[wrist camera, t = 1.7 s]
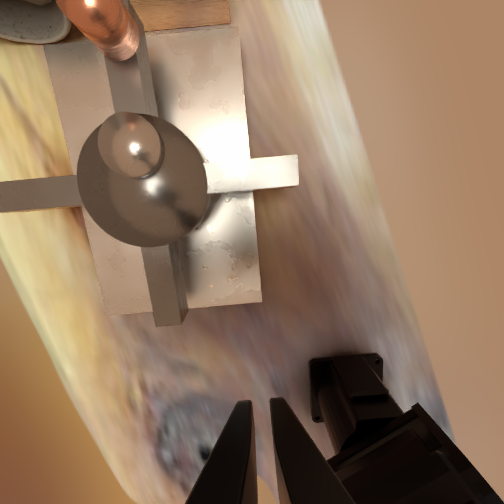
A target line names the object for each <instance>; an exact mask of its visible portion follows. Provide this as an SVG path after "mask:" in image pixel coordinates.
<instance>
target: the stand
mask: <svg viewBox="0 0 504 504" xmlns="http://www.w3.org/2000/svg"><path fill="white" fill-rule="evenodd" d="M129 1H130V3H131V4H132V6H133V8H134V9H135V11H136V13H137V14H138V16H139V18H140V20H141V21H142V23H143V25H144V30H145V31H154V30H165V29H175V28H185V27H196V26H206V25H217V24H227V23H230V14H229V4H228V0H129ZM145 37H146V43H147V49H148V56H149V62H150V69H151V75H152V81H153V88H154V94H155V100H156V107H157V113H158V117H159V118H161V119H164V120H166V121H168V122H169V123H171V124H173V125H174V126H176V127H177V128H178V129H179V130H181V131H182V132H183V133H184V134H185V135H186V136H187V137H188V138H189V139H190V140H191V141H192V142H193V143H194V145H195V146H196V147H197V148H198V149H199V151H200V152H201V153H202V155H203V156H204V158H205V160H206V162H207V163H210V162H221V161H232V160H242V159H250V153H249V142H248V130H247V119H246V107H245V95H244V84H243V72H242V61H241V49H240V37H239V27H230V28H219V29H209V30H198V31H188V32H177V33H167V34H157V35H146V36H145ZM43 47H44V51H45V55H46V59H47V64H48V68H49V72H50V76H51V81H52V85H53V89H54V93H55V97H56V102H57V106H58V110H59V114H60V119H61V123H62V127H63V131H64V136H65V140H66V144H67V148H68V153H69V157H70V161H71V165H72V169H73V174H74V175H77V163H78V159H79V155H80V152H81V149H82V147H83V145H84V143H85V141H86V139H87V138H88V137H89V135H90V134H91V133H92V132H93V131H94V130H95V129H96V128H97V127H98V126H99V125H101V124H102V123H103V122H104V121H105V120H106V119H107V118H108V117H109V116H111V115H113V114H115V111H114V106H113V101H112V95H111V90H110V85H109V80H108V75H107V69H106V64H105V59H104V54H103V53H102V52H101V51H100V50H99V49H98V48H97V47H96V46H95V45H94V44H93V43H92V42H91V41H84V42H73V43H63V44H52V45H43ZM81 208H82V212H83V216H84V220H85V224H86V229H87V233H88V237H89V241H90V246H91V250H92V254H93V258H94V263H95V267H96V271H97V275H98V280H99V284H100V288H101V292H102V296H103V301H104V305H105V309H106V313H107V316H109V315H121V314H132V313H143V312H153V310H152V304H151V299H150V294H149V289H148V284H147V278H146V273H145V268H144V263H143V257H142V252H141V247H137V246H133V245H129V244H126V243H123V242H121V241H119V240H117V239H115V238H113V237H112V236H110V235H109V234H107V233H106V232H105V231H104V230H102V229H101V228H100V227H99V226H98V225H97V224H96V223H95V222H94V220H93V219H92V218H91V216H90V215H89V213H88V212H87V210H86V208H85V206H84V207H81ZM178 247H179V253H180V259H181V266H182V272H183V279H184V285H185V291H186V298H187V304H188V308H199V307H211V306H222V305H233V304H244V303H255V302H262V293H261V281H260V270H259V258H258V246H257V235H256V223H255V212H254V200H253V191H247V192H236V193H225V194H214V195H212V200H211V204H210V207H209V210H208V212H207V214H206V216H205V218H204V219H203V221H202V222H201V223H200V225H199V226H198V227H197V228H196V229H194V230H193V231H192V232H191V233H189V234H188V235H186V236H184V237H182V238H180V239H178Z"/></svg>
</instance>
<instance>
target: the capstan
mask: <svg viewBox="0 0 504 504" xmlns="http://www.w3.org/2000/svg"><path fill="white" fill-rule="evenodd" d="M56 3H57V4H58V6H59V8H60V10H61V11H62V12H63V13H64V14H65V16H66V17H67V18H68V19H69V20H70V21H71V22H72V23H73V24H74V25H75V26H76V27H77V28H78V29H79V30H80V31H81V32H82V33H83V34H84V35H85V36H86V37H87V38H88V39H89V40H90V41H91V42H92V43H93V44H94V45H95V46H96V47H97V48H98V49H99V50H100V51H101V52H102V53H103V54H104V59H105V64H106V69H107V75H108V80H109V85H110V90H111V95H112V101H113V106H114V111H115V114H113V115H111V116H109V117H108V118H107V119H106V120H105V121H104V122H103V123H102V124H101V125H99V126H98V127H97V128H96V129H95V130H94V131H93V132H92V133H91V134H90V135H89V137H88V138H87V139H86V141H85V143H84V145H83V147H82V149H81V152H80V155H79V159H78V163H77V175H69V176H59V177H48V178H37V179H26V180H15V181H5V182H0V213H10V212H29V211H40V210H51V209H62V208H73V207H84V206H85V208H86V210H87V212H88V213H89V215H90V216H91V218H92V219H93V220H94V222H95V223H96V224H97V225H98V226H99V227H100V228H101V229H102V230H104V231H105V232H106V233H107V234H109V235H110V236H112V237H113V238H115V239H117V240H119V241H121V242H123V243H126V244H129V245H133V246H137V247H141V252H142V257H143V263H144V268H145V273H146V278H147V284H148V289H149V294H150V299H151V304H152V310H153V315H154V320H155V325H156V327H159V326H170V325H181V324H182V322H183V321H184V319H185V317H186V315H187V313H188V312H189V310H188V304H187V298H186V291H185V285H184V279H183V272H182V266H181V259H180V253H179V247H178V239H180V238H182V237H184V236H186V235H188V234H189V233H191V232H192V231H193V230H194V229H196V228H197V227H198V226H199V225H200V223H201V222H202V221H203V219H204V218H205V216H206V214H207V212H208V210H209V207H210V204H211V200H212V195H214V194H225V193H236V192H247V191H258V190H269V189H280V188H291V187H295V186H298V185H299V175H298V154H296V155H286V156H275V157H264V158H253V159H242V160H232V161H221V162H210V163H207V162H206V160H205V158H204V156H203V155H202V153H201V152H200V151H199V149H198V148H197V147H196V146H195V145H194V143H193V142H192V141H191V140H190V139H189V138H188V137H187V136H186V135H185V134H184V133H183V132H182V131H181V130H179V129H178V128H177V127H176V126H174V125H173V124H171V123H169V122H168V121H166V120H164V119H161V118H159V117H158V113H157V107H156V100H155V94H154V88H153V81H152V75H151V69H150V62H149V56H148V49H147V43H146V37H145V30H144V25H143V23H142V21H141V20H140V18H139V16H138V14H137V13H136V11H135V9H134V8H133V6H132V4H131V3H130V1H129V0H56Z"/></svg>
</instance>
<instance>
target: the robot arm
mask: <svg viewBox="0 0 504 504" xmlns="http://www.w3.org/2000/svg"><path fill="white" fill-rule="evenodd" d="M376 359H378V360H377V361H375V360H376ZM315 364H316V366H313V365H315ZM382 379H383V359H382V358H381V357H380V355H378V354H367V355H355V356H343V357H333V358H321V359H313V360H311V361H310V362H309V380H310V402H311V416H312V420H313V421H314V422H316V423H320V422H325V425H326V428H327V431H328V434H329V437H330V440H331V443H332V446H333V448H334V451H335V454H336V455H335V456H333V457H332V458H330V459H328V460H327V461H326V459H325V458H324V456H323V455H322V453H321V452H320V451H319V449H318V448H317V446H316V445H315V443H314V442H313V440H312V439H311V437H310V436H309V434H308V433H307V431H306V430H305V428H304V427H303V425H302V424H301V423H300V421H299V420H298V418H297V417H296V415H295V414H294V412H293V411H292V409H291V408H290V406H289V405H288V403H287V402H286V400H285V399H284V398H283V397H278V398H271V399H270V413H271V424H272V434H273V444H274V454H275V464H276V474H277V484H278V493H279V500H280V504H504V502H503V501H502V500H501V498H499V496H498V495H497V494H496V493H495V491H494V490H493V489H492V488H491V486H490V485H489V484H488V483H487V481H486V480H485V479H484V478H483V477H482V476H481V474H480V473H479V472H478V471H477V470H476V468H475V467H474V466H473V465H472V464H471V462H470V461H469V460H468V459H467V458H466V457H465V455H464V454H463V453H462V452H461V451H460V450H459V449H458V447H457V446H456V445H455V444H454V443H453V442H452V441H451V439H450V438H449V437H448V436H447V435H446V434H445V433H444V432H443V430H442V429H441V428H440V427H439V426H438V425H437V424H436V422H435V421H434V420H433V419H432V418H431V417H430V416H429V415H428V413H427V412H426V411H425V410H424V409H423V408H422V407H421V406H420V404H419V403H416V404H415V405H413V406H412V409H410V410H408V411H407V412H405V413H404V412H403V411H402V410H401V408H400V407H399V406H398V404H397V403H396V402H395V400H394V399H393V398H392V396H391V395H390V394H389V391H388V389H387V388H386V387H385V385H384V384H383V382H382ZM316 416H317V417H316ZM185 504H258V494H257V469H256V447H255V427H254V417H253V407H252V402H251V401H250V400H244V401H238V402H237V403H236V405H235V407H234V409H233V411H232V413H231V415H230V417H229V419H228V421H227V423H226V425H225V427H224V429H223V430H222V432H221V434H220V436H219V438H218V440H217V442H216V444H215V446H214V448H213V450H212V452H211V454H210V456H209V458H208V460H207V462H206V463H205V465H204V467H203V469H202V471H201V473H200V475H199V477H198V479H197V481H196V483H195V485H194V487H193V489H192V491H191V493H190V494H189V496H188V498H187V500H186V502H185Z"/></svg>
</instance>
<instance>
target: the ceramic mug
mask: <svg viewBox="0 0 504 504" xmlns="http://www.w3.org/2000/svg"><path fill="white" fill-rule="evenodd" d="M70 29H71V21H70V20H69V19H68V18H67V17H66V16H65V14H64V13H63V12H62V11H61V10H60V8H59V6H58V4H57V3H56V0H0V37H1V38H4V39H7V40H12V41H17V42H24V43H36V44H45V43H52V42H57V41H60V40H62V39H64V38H65V37H66V36H67V35H68V33H69V32H70Z"/></svg>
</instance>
